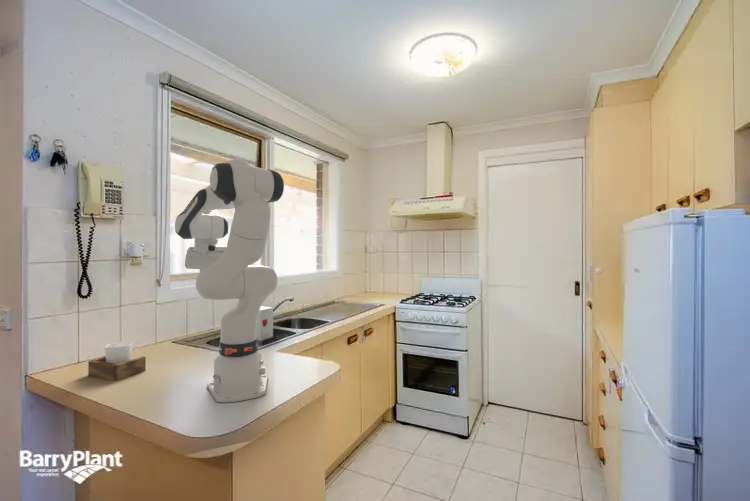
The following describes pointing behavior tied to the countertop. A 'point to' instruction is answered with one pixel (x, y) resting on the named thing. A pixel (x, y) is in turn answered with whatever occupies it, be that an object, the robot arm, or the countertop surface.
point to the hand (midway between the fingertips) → (206, 280)
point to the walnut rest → (115, 368)
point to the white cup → (118, 352)
